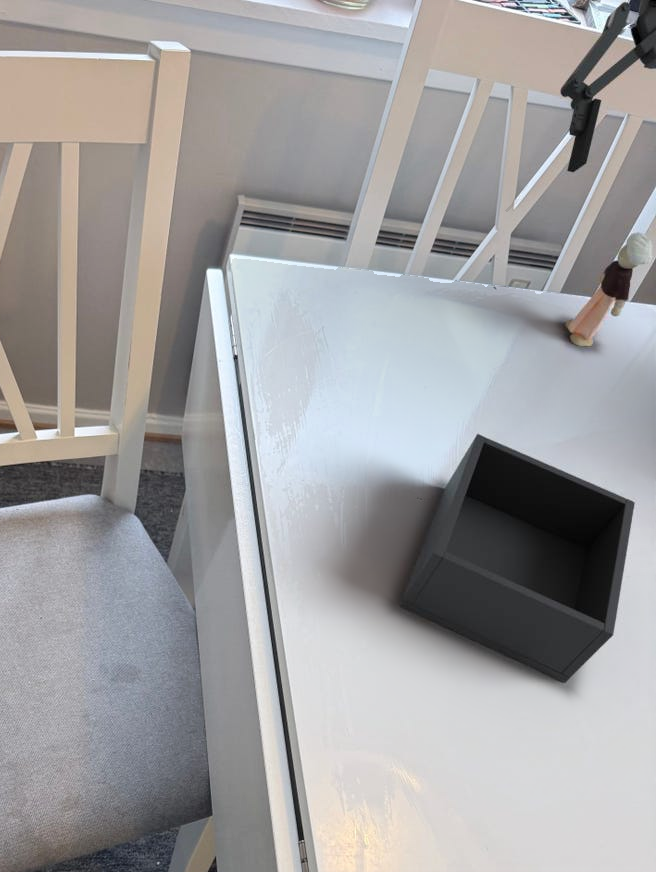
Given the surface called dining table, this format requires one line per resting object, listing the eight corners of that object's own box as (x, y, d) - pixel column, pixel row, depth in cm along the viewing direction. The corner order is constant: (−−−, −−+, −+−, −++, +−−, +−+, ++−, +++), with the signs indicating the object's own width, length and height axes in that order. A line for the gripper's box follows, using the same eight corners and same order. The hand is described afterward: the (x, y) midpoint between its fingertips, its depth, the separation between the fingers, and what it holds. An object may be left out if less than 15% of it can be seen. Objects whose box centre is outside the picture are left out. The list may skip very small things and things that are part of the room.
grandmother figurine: (553, 316, 104) (614, 214, 94) (581, 319, 105) (645, 218, 94) (576, 357, 99) (643, 255, 89) (605, 359, 100) (675, 259, 90)
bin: (591, 553, 80) (635, 501, 75) (565, 683, 70) (613, 635, 65) (444, 488, 82) (477, 433, 76) (399, 606, 72) (433, 553, 67)
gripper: (765, 20, 98) (714, 215, 101) (558, -34, 95) (512, 168, 99) (818, -19, 90) (761, 193, 93) (595, -78, 88) (544, 142, 91)
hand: (633, 181), depth 96 cm, fingers open, 13 cm apart
